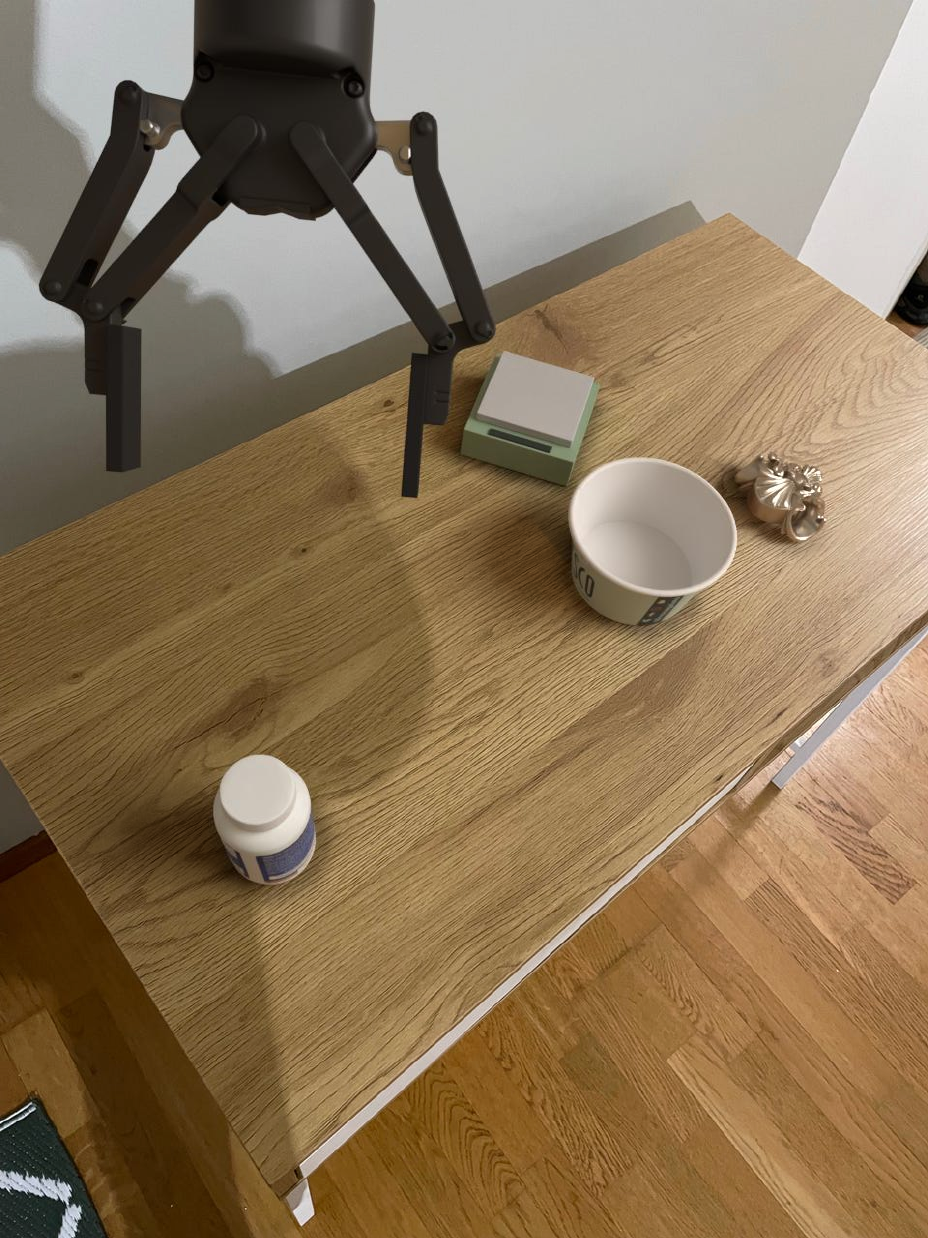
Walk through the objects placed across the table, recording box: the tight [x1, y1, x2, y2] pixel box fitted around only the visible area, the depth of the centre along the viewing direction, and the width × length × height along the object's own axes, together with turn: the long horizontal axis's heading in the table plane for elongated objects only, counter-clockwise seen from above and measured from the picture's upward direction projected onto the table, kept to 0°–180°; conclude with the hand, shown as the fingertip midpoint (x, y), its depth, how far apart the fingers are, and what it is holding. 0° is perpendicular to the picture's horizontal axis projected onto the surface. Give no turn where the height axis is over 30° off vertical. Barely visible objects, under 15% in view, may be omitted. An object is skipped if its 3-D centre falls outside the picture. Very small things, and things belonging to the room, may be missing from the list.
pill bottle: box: [212, 754, 317, 886], centre depth 54 cm, size 5×5×10 cm
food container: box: [567, 456, 738, 626], centre depth 68 cm, size 12×12×6 cm
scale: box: [460, 350, 601, 487], centre depth 76 cm, size 9×9×4 cm
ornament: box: [734, 451, 827, 543], centre depth 74 cm, size 8×7×4 cm
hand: (267, 482), depth 45 cm, fingers open, 13 cm apart
